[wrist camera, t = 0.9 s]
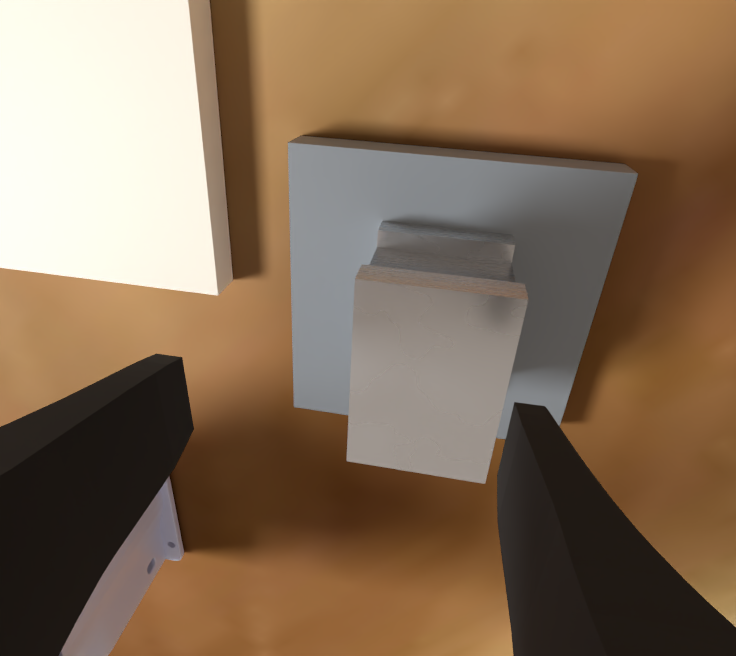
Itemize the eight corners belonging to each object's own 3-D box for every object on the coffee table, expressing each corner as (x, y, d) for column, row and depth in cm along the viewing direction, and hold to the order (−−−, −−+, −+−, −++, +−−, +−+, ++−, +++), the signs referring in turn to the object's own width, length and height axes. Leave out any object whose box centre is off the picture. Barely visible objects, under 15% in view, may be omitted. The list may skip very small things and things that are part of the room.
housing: (481, 389, 20) (485, 483, 16) (371, 374, 21) (346, 461, 16) (512, 234, 17) (528, 299, 13) (382, 220, 17) (354, 278, 13)
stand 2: (548, 423, 22) (553, 446, 21) (303, 386, 23) (293, 407, 22) (625, 163, 17) (638, 174, 15) (300, 135, 18) (288, 142, 17)
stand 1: (233, 280, 21) (218, 295, 20) (-3, 251, 23) (-31, 263, 21) (206, -42, 16) (183, -49, 15) (-102, -56, 17) (-148, -64, 16)
